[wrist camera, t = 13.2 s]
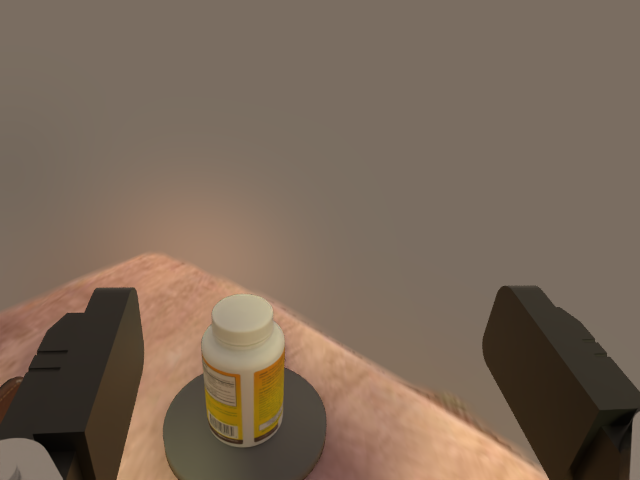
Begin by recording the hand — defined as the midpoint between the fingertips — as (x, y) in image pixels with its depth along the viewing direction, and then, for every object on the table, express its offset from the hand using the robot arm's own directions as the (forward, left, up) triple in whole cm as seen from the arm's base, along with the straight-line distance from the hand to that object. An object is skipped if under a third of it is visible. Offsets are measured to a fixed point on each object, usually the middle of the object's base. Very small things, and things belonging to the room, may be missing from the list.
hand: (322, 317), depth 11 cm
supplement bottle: (-5, +17, -24) cm, 30 cm away
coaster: (-5, +17, -25) cm, 31 cm away
